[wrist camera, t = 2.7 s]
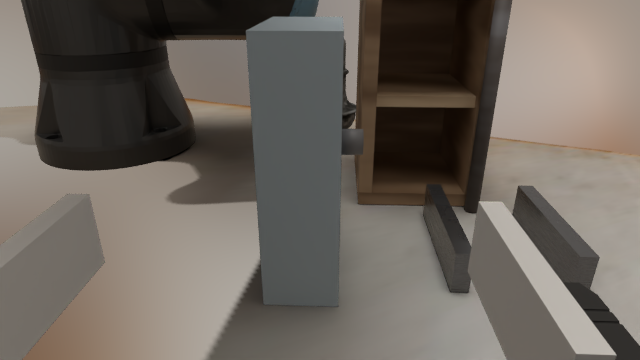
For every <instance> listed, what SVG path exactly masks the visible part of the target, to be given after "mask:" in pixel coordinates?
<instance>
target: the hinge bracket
mask: <svg viewBox="0 0 640 360" xmlns="http://www.w3.org/2000/svg"><path fill="white" fill-rule="evenodd" d="M423 216H424V219H425V221H426V224H427V227H428V230H429V233H430V236H431V238H432V241H433V244H434V247H435V250H436V252H437V255H438V258H439V261H440V264H441V267H442V269H443V272H444V275H445V278H446V281H447V284H448V286H449V289H450V292H469V287H470V281H471V278H470V275H469V273H468V266H469V259H470V253H471V245H470V243H469V241H468V239H467V237H466V235H465V233H464V231H463V229H462V227H461V225H460V223H459V221H458V219H457V217H456V215H455V213H454V211H453V209H452V207H451V205H450V203H449V201H448V199H447V197H446V195H445V193H444V191H443V188H442V186H441V184H426V192H425V202H424V211H423ZM512 216H513V217H514V218H515V220H516V221H517V222H518V224H519V225H520V226H521V228H522V229H523V230H524V232H525V233H526V234H527V236H528V237H529V238H530V240H531V241H532V242H533V244H534V245H535V246H536V248H537V249H538V250H539V252H540V253H541V254H542V256H543V257H544V258H545V260H546V261H547V262H548V264H549V265H550V266H551V268H552V269H553V270H554V272H555V273H556V274H557V276H558V277H559V278H560V280H561V281H562V282H573V283H581V284H582V285H584V286H585V287H586V288H588V289H589V290H590V287H591V284H592V281H593V277H594V274H595V271H596V267H597V264H598V261H599V258H600V257H599V256H598V255H597V254H596V253H595V252H594V251H593V250H592V249H591V248H590V247H589V245H588V244H587V243H586V242H585V241H584V240H583V239H582V238H581V237H580V236H579V235H578V234H577V233H576V232H575V231H574V229H573V228H572V227H571V226H570V225H569V224H568V223H567V222H566V221H565V220H564V219H563V218H562V217H561V216H560V215H559V214H558V212H557V211H556V210H555V209H554V208H553V207H552V206H551V205H550V204H549V203H548V202H547V201H546V200H545V199H544V198H543V197H542V195H541V194H540V193H539V192H538V191H537V190H536V189H535V188H534V187H533V186H518V189H517V194H516V199H515V204H514V209H513V214H512Z"/></svg>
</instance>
